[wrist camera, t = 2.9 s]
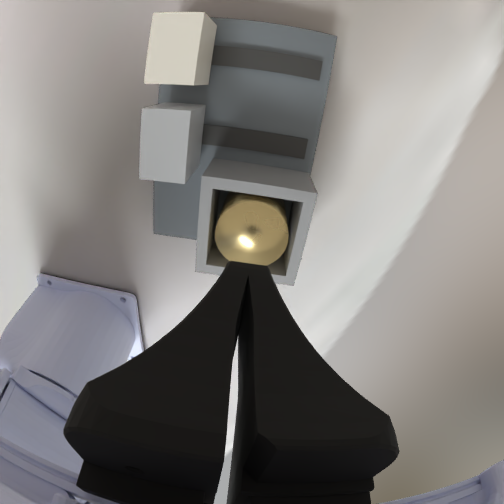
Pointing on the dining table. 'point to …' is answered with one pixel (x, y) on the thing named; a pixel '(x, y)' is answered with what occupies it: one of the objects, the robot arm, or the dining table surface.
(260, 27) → the panel board
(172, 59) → the cream rectangular prism
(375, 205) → the dining table surface
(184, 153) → the grey rectangular block
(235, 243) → the brass button
